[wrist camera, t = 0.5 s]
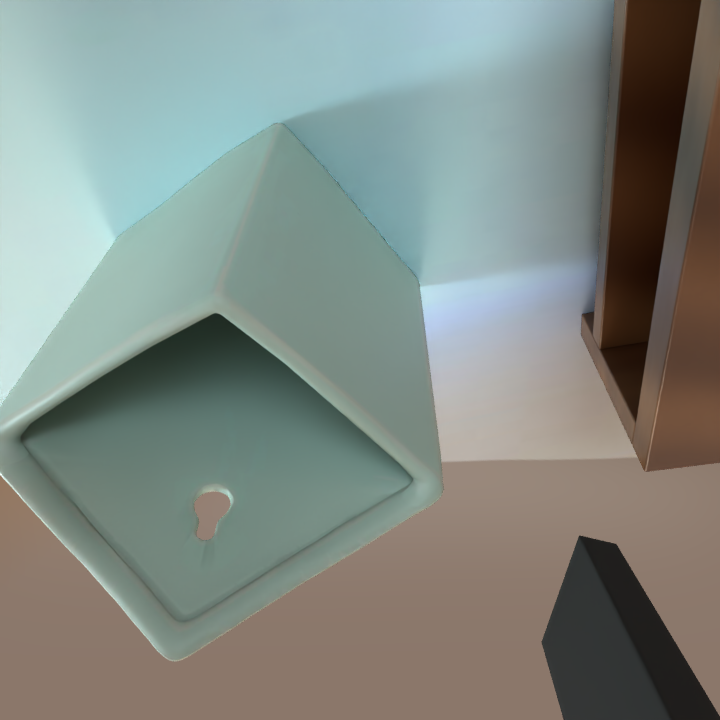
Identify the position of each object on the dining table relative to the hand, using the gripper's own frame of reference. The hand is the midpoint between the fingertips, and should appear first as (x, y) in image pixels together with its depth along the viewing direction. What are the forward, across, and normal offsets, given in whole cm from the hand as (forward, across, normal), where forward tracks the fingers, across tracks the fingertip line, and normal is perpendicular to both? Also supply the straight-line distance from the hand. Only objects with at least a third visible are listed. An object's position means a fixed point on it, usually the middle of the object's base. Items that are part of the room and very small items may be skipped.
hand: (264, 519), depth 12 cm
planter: (+17, -5, +6) cm, 19 cm away
